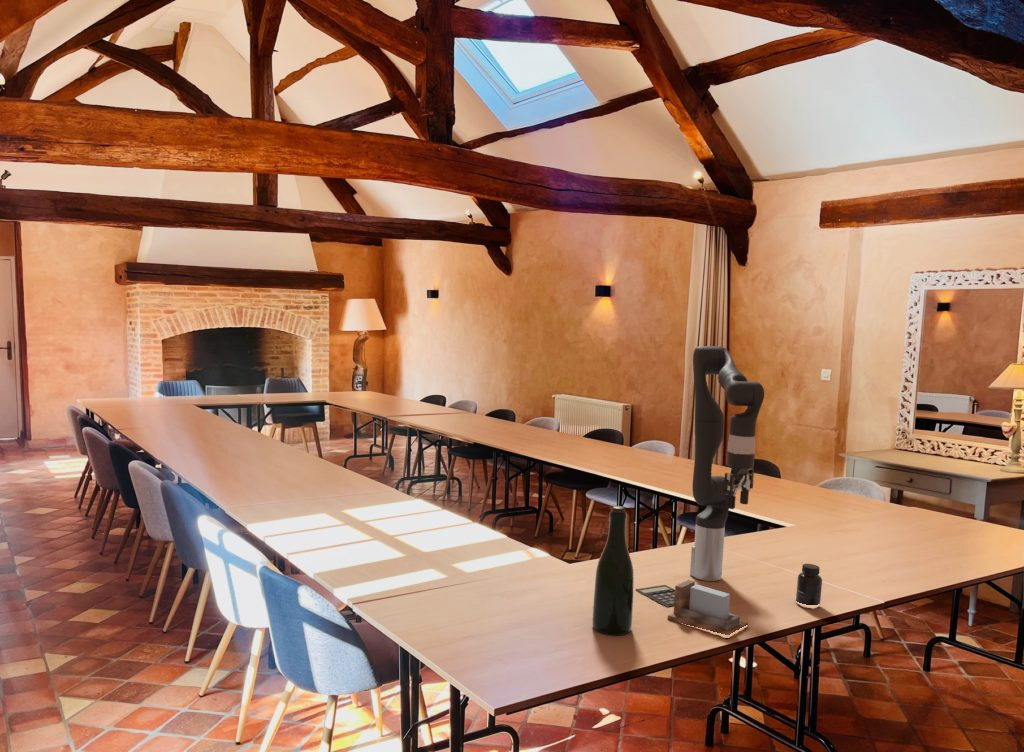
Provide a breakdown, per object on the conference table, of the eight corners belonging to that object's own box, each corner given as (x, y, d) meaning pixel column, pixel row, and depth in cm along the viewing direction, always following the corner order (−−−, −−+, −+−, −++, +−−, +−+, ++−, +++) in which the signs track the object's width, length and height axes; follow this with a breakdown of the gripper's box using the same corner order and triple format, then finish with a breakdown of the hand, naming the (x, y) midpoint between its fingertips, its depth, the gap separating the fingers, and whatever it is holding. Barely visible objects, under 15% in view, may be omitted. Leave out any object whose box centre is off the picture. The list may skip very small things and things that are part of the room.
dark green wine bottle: (627, 621, 212) (634, 502, 209) (634, 637, 201) (642, 512, 199) (589, 620, 211) (595, 501, 209) (594, 635, 201) (601, 511, 198)
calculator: (666, 605, 224) (635, 588, 237) (666, 608, 224) (634, 591, 237) (697, 600, 229) (665, 584, 242) (697, 603, 229) (664, 587, 242)
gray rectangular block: (688, 615, 215) (690, 587, 214) (695, 612, 217) (696, 584, 217) (722, 626, 208) (724, 597, 208) (728, 622, 211) (730, 594, 210)
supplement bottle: (792, 605, 230) (795, 565, 229) (799, 599, 235) (802, 560, 234) (816, 611, 226) (819, 571, 225) (823, 605, 231) (826, 566, 230)
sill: (667, 619, 214) (669, 587, 214) (688, 608, 223) (690, 577, 223) (727, 639, 202) (730, 605, 202) (747, 627, 211) (750, 594, 211)
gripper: (739, 446, 230) (736, 500, 231) (717, 451, 219) (713, 507, 220) (764, 450, 225) (760, 505, 226) (742, 455, 214) (738, 512, 215)
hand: (737, 506), depth 223 cm, fingers open, 8 cm apart
